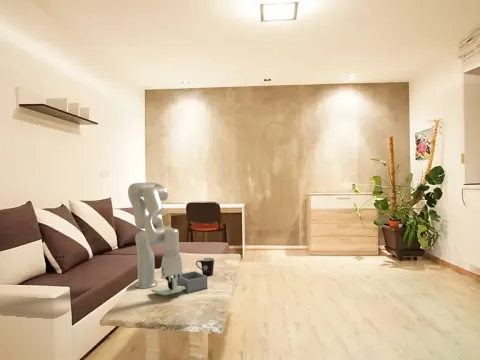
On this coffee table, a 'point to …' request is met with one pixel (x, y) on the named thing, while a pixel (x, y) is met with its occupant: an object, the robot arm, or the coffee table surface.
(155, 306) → the coffee table surface
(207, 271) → the coffee mug
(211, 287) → the coffee table surface
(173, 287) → the lid
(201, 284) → the tub
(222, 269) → the coffee table surface
